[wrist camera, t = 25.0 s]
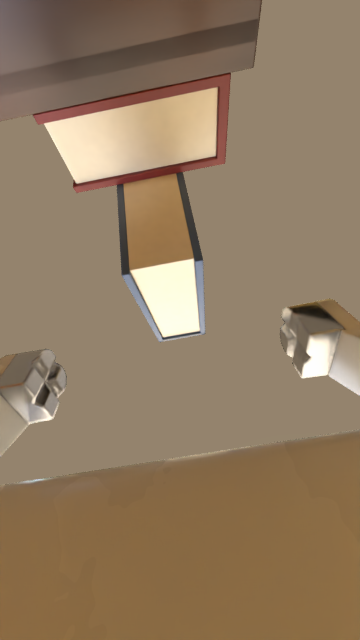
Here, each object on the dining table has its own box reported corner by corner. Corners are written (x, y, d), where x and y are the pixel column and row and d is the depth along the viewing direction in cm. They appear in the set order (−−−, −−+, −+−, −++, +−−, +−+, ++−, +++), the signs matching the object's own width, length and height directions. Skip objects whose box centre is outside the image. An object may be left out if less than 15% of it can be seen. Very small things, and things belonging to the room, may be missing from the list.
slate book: (203, 260, 12) (205, 334, 21) (158, 66, 20) (173, 179, 29) (121, 275, 12) (159, 342, 21) (110, 76, 20) (140, 186, 29)
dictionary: (230, 73, 11) (225, 163, 14) (188, -16, 16) (192, 68, 19) (32, 115, 11) (76, 193, 15) (52, 14, 16) (81, 91, 20)
